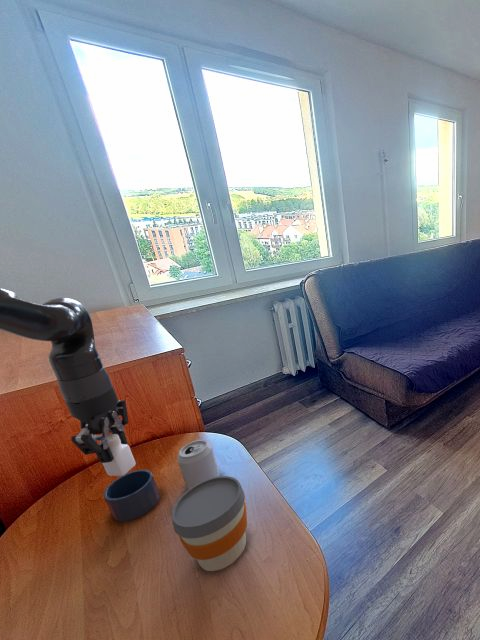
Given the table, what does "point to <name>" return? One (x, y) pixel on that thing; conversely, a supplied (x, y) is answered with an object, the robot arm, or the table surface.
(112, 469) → the salt shaker
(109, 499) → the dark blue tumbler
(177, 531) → the reusable coffee cup
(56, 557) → the table surface
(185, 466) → the can
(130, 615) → the table surface
